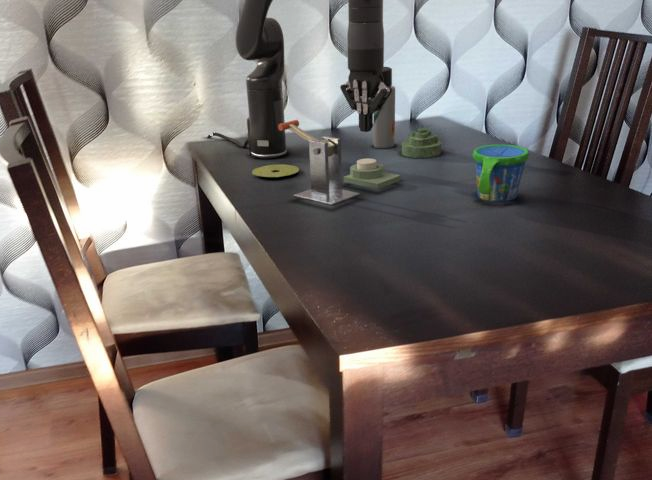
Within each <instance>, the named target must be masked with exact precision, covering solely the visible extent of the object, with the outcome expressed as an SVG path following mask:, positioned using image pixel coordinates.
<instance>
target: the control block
mask: <svg viewBox="0 0 652 480" xmlns="http://www.w3.org/2000/svg"><path fill="white" fill-rule="evenodd" d="M401 179H402V175H401V174H396V173H390V172H385V170H384V165H383V164H381V163H377V168H376V169H372V170H360V169H357V163H356V164H355V163H354V164H352V165H351V166H350V168H349V174H348V175H345V176H343V183H346V184H351V185H356V186H360V187H365V188H369V189H370V188H371V189H376V190H380V189H382V188H385V187H388V186H390V185H393V184H396V183H398V182H401V181H402V180H401Z"/></svg>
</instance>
